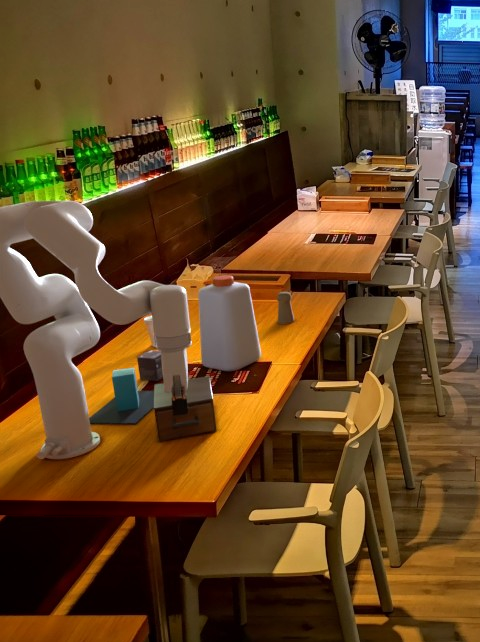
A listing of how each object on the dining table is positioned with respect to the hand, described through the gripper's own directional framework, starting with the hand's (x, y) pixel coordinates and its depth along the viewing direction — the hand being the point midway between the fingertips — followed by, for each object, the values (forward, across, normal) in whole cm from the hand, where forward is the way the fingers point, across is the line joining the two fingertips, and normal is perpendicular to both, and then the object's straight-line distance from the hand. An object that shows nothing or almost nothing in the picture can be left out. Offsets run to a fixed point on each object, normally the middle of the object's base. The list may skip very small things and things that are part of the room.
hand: (180, 413), depth 169 cm
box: (+13, -56, -7) cm, 58 cm away
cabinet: (+12, -19, +1) cm, 23 cm away
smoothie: (+14, -86, -7) cm, 87 cm away
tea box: (+12, -36, -14) cm, 41 cm away
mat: (+13, -36, -13) cm, 40 cm away
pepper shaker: (+13, -93, +36) cm, 101 cm away
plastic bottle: (+13, -59, +15) cm, 62 cm away
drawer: (+11, -16, +1) cm, 19 cm away
